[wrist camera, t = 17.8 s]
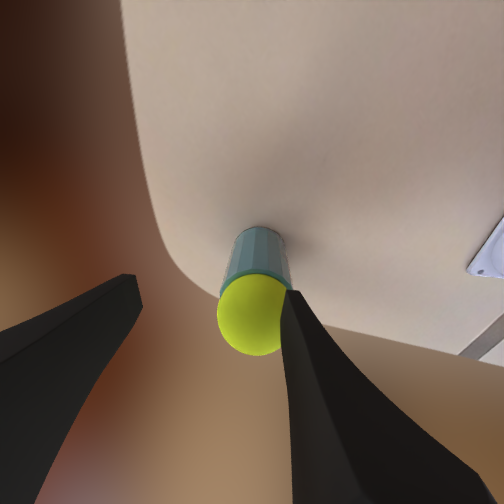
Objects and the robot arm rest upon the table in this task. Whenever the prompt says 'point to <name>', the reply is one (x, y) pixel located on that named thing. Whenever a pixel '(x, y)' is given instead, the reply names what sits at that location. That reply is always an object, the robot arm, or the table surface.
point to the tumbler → (258, 257)
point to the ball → (252, 314)
